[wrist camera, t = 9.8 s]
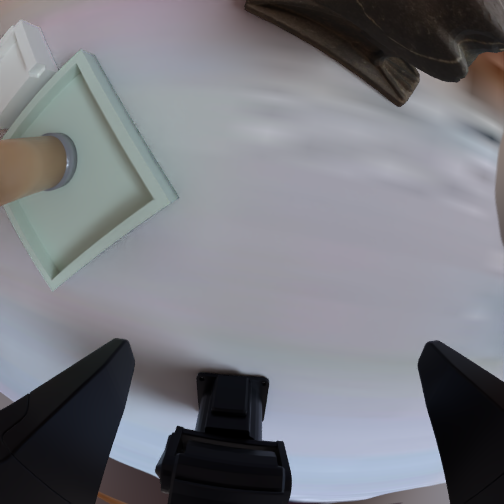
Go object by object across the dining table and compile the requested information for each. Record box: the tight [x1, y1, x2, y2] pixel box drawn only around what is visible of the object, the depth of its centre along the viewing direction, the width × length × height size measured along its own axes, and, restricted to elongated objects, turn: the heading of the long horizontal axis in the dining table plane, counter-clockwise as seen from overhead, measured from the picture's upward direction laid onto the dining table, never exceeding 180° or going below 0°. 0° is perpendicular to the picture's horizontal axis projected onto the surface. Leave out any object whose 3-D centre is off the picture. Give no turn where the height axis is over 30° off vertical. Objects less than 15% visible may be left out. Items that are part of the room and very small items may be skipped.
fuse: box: [0, 133, 77, 206], centre depth 13 cm, size 4×4×11 cm
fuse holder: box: [0, 20, 59, 129], centre depth 14 cm, size 7×7×3 cm
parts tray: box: [2, 49, 179, 292], centre depth 18 cm, size 14×14×2 cm
